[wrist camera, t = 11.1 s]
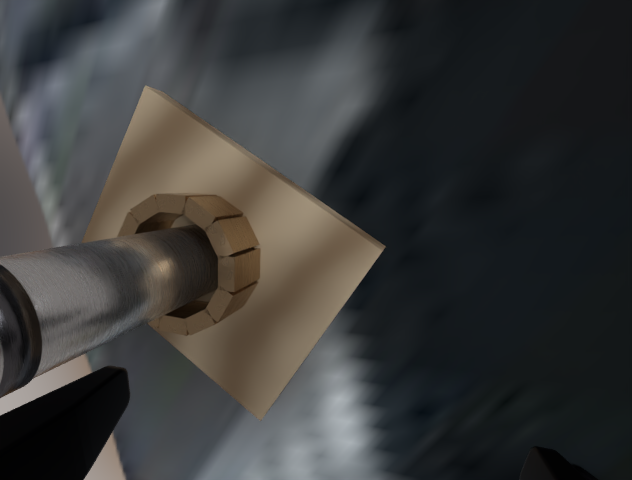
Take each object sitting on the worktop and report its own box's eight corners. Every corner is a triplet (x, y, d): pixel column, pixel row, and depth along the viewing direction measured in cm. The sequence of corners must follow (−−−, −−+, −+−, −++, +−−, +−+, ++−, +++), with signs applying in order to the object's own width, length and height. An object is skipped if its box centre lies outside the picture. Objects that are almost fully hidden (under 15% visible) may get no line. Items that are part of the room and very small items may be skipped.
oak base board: (385, 246, 20) (382, 250, 19) (270, 407, 24) (260, 421, 23) (162, 91, 24) (145, 85, 22) (92, 256, 28) (74, 260, 26)
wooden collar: (283, 242, 21) (260, 250, 18) (223, 340, 23) (194, 361, 20) (183, 169, 22) (148, 166, 19) (136, 268, 24) (98, 278, 22)
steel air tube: (239, 229, 21) (-70, 302, 8) (231, 299, 22) (-57, 464, 9) (177, 215, 23) (-176, 259, 10) (172, 282, 24) (-155, 405, 11)
